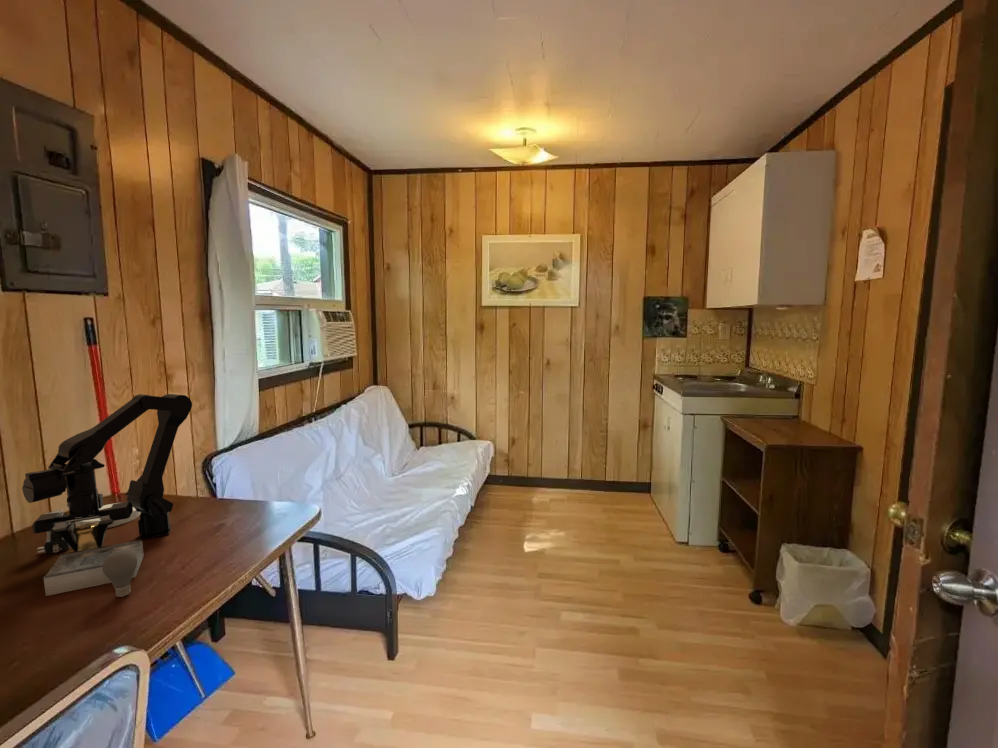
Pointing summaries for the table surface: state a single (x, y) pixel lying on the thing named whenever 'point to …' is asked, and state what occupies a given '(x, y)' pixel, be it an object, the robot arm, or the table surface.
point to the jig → (86, 568)
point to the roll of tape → (115, 523)
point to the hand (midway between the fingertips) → (88, 549)
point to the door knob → (86, 536)
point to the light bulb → (120, 570)
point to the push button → (55, 540)
